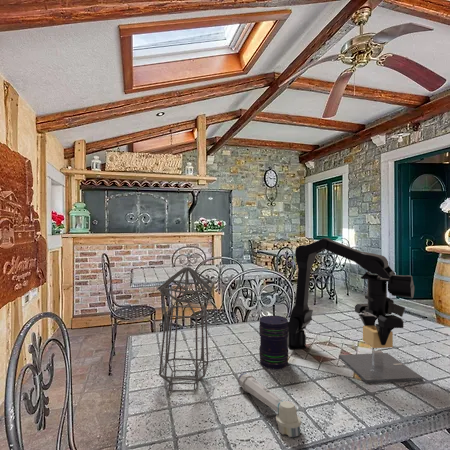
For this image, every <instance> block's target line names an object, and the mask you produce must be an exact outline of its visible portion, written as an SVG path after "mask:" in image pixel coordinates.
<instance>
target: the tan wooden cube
mask: <svg viewBox="0 0 450 450" xmlns="http://www.w3.org/2000/svg"><path fill="white" fill-rule="evenodd" d="M393 333H394V332H393V331H392V330H391V332H390V334H389V337H388V339H387V342H386V344H385V345H381V342H380V339H379V336H378V332H377V329H376V325H375V326H364V325H363V326H362V341H363V342H364V343H365V344H367V345H368V346H369V347H371V348H373V349H384V348H385V349H387V348H394V346H393V345H394V344H393V342H394V341H393V340H394V339H393V338H394V335H393Z"/></svg>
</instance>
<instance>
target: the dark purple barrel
mask: <svg viewBox="0 0 450 450" xmlns="http://www.w3.org/2000/svg"><path fill="white" fill-rule="evenodd" d="M288 322H289V319H288V318H286V317H284V316H281V315H264V316H261V317H259V327H258V330H259V332H258V334H259V338H260V339H259V340H260V341H259V342H260V343H259V344H260V345H259V348H258V350H259V351H258V352H259V353H258V354H259V365H260V366H261V367H263V368H265V369H268V370H275V371H276V370H278V371H279V370H283V369H287V367H288V366H289V362H288V361H289V347H288V346H287V338H288Z"/></svg>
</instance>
